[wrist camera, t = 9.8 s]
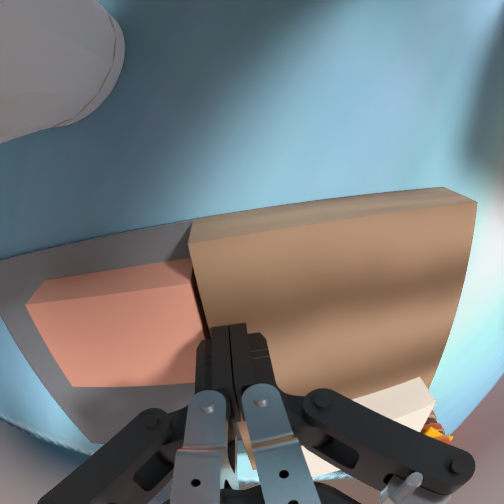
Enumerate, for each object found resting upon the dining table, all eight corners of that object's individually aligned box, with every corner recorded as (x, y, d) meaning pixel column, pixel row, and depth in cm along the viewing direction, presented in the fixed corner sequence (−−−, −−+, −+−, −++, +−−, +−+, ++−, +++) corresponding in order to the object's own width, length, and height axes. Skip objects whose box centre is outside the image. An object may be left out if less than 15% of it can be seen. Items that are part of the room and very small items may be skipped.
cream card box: (293, 413, 17) (301, 446, 14) (419, 376, 17) (436, 401, 15) (295, 453, 19) (301, 479, 17) (401, 421, 20) (412, 444, 17)
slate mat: (-20, 264, 13) (-22, 266, 13) (193, 219, 14) (192, 221, 14) (92, 440, 21) (91, 442, 21) (247, 436, 22) (248, 439, 22)
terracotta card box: (44, 280, 14) (25, 304, 12) (193, 256, 15) (190, 283, 12) (83, 359, 17) (72, 386, 14) (216, 348, 17) (216, 379, 15)
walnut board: (193, 219, 14) (187, 243, 11) (443, 187, 15) (477, 202, 12) (249, 441, 23) (252, 469, 20) (397, 404, 23) (410, 427, 20)
